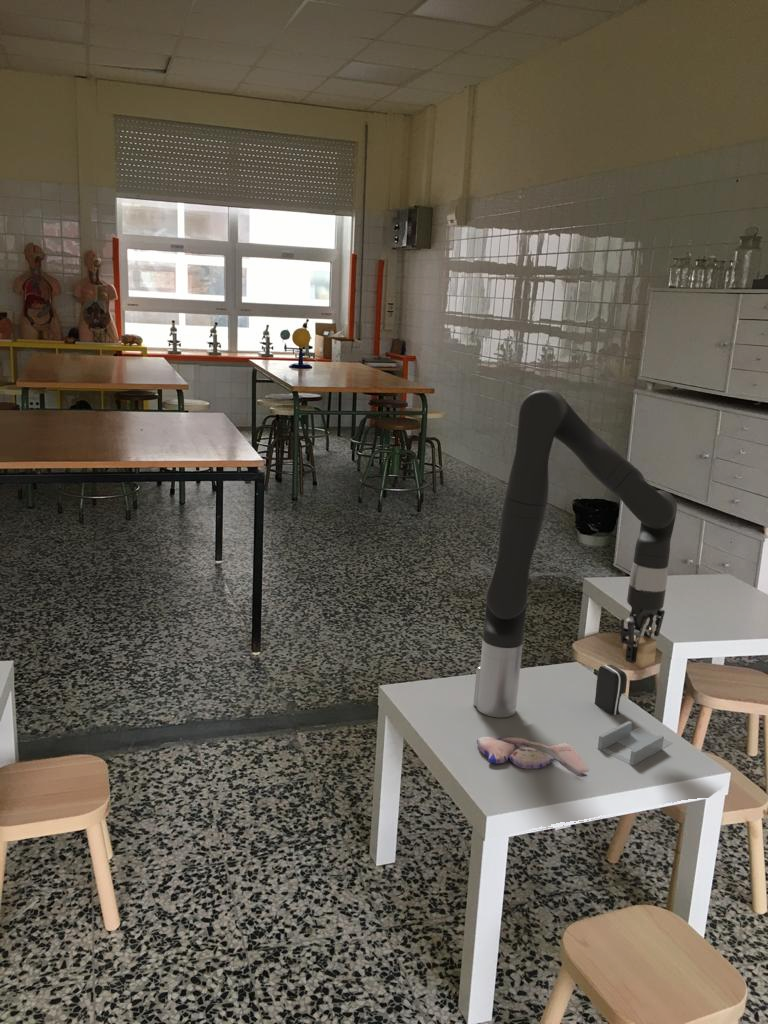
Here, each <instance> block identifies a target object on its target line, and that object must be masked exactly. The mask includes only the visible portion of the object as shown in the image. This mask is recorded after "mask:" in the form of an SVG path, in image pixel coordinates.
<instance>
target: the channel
mask: <svg viewBox="0 0 768 1024" xmlns="http://www.w3.org/2000/svg"><path fill="white" fill-rule="evenodd" d="M632 724H633V722H632V721H630V720H628V721H626V722H624V723H621V724H620V725H617V726H616V727H614V728H612V729H610V730H608V731H606V732H605V733H604V732H603V733H602V734H599V737H598V741H597V742H598V744H597V749H598V750H600V751H601V752H604V753H606V754H608V755H610V756H612V757H614V758H616V759H618V760H619V761H622V762H624V763H627V764H629V765H630V766H635V765H637V764H639V763H640V762H642V761H643V760H646V759H647V758H650V757H651V756H653V755H654V754H656V753H658V752H659V751H662V750H663V749H665V748H667V747H668V746H670V745H672V744H673V742H672V741H670V740H668V739H665V737H664V735H662V734H659V735H656V734H653V733H652V732H649V731H647V730H645V729H643V728H640V727H636V728H634V729H633V730H632V728H633V727H632V726H633V725H632ZM615 743H618V744H620V745H623V747H627V748H628V749H631V751H630V759H629V758H626V757H625V756H623V755H620V754H619V753H617V752H614V751H612V750H610V749H608V747H610V746H611V745H613V744H615Z"/></svg>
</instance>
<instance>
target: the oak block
mask: <svg viewBox="0 0 768 1024" xmlns="http://www.w3.org/2000/svg"><path fill="white" fill-rule="evenodd" d="M626 638H627V636H626ZM635 638H636V636H635V635H634V641H635ZM657 646H658V640H657V639H655V638H654V639H652V638H649V637H646V636H643V637H642V638H640V641H639V644H638V646H637V647H638V650H637V657H636V662H635V663H631V662H628V661H626V659H625V657H626V650H627V645H626V644H623V646H622V653H621V654H622V655H621V660H622V661H625V662H627V663H629V664H631V665H635V666H638V667H640V668H644V667H646V666H648V665H651V664H653V663H655V658H656V653H657Z"/></svg>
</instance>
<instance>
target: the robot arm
mask: <svg viewBox="0 0 768 1024" xmlns="http://www.w3.org/2000/svg"><path fill="white" fill-rule="evenodd" d="M516 437H517V438H516V446H515V447H516V448H515V454H514V458H513V461H512V466H511V469H510V473H509V477H508V481H507V487H506V490H505V494H504V500H503V505H502V510H501V511H502V512H501V518H500V527H499V538H498V539H499V540H498V541H499V542H498V553H497V554H498V555H497V560H496V563H495V567H494V571H493V574H492V576H491V578H490V580H489V582H488V584H487V589H486V593H485V594H486V595H485V599H486V600H485V601H486V604H485V613H484V614H485V615H484V623H483V629H482V630H483V631H482V641H481V643H482V644H481V653H480V666H478V667H476V672H475V682H474V692H473V706H475V707H476V709H477V710H478V712H480V713H481V714H484V715H486V716H488V717H493V718H500V719H501V718H509V717H512V716H514V715H515V714H516V712H517V703H518V694H519V684H520V682H519V681H520V673H521V665H522V652H523V643H524V634H525V627H526V615H527V614H526V613H527V606H528V605H527V604H528V594H529V587H528V583H529V577H530V576H529V575H530V568H531V563H532V559H533V556H534V552H535V550H536V547H537V543H538V541H539V537H540V534H541V530H542V527H543V524H544V519H545V514H546V511H547V504H548V501H549V500H548V497H549V488H550V487H549V484H550V483H549V482H550V481H549V459H550V453H551V449H552V445H553V441H554V438H555V439H557V440H559V442H561V443H562V444H564V446H566V447H567V448H568V449H570V451H571V452H572V453H573V454H575V456H576V457H577V458H578V459H579V461H580V462H581V463H582V464H583V466H585V468H586V470H588V471H589V472H590V474H591V475H592V476H593V477H595V479H596V480H597V481H598V482H600V483H601V484H602V485H604V486H605V488H606V489H608V490H609V491H610V493H611V492H612V494H613V495H615V496H617V497H618V498H619V499H620V500H621V502H622V503H623V504H624V505H625V506H626V508H627V509H628V510H629V511H630V513H632V514H633V515H634V517H636V518H637V520H639V521H640V530H639V535H638V537H637V540H636V542H635V548H634V555H633V562H632V566H631V570H630V575H629V583H628V591H627V596H626V597H627V598H626V603H627V604H628V605H629V606H630V608H631V610H630V613H629V617H628V618H624V617H622V618H621V620H620V643H621V644H623V645H624V644H626V645H627V650H626V657H625V659H626V661H625V662H627V661H628V662H627V663H629V662H631V663H630V664H632V663H635V662H636V657H637V650H638V647H637V646H638V644H639V641H640V638H642V637H643V636H646V637H649V638H652V639H654V640H655V638H656V637H659V634H660V633H661V632H660V631H661V627H662V623H663V620H664V616H665V610H664V609H663V607H664V603H665V597H666V591H667V590H666V589H667V583H668V566H669V561H670V555H671V553H670V552H671V539H672V535H673V531H674V527H675V523H676V517H677V511H678V504H677V501H676V499H675V497H674V496H673V495H672V494H671V493H670V492H668V491H665V490H656V488H654V487H653V486H652V485H651V484H649V482H647V481H646V480H645V477H644V475H643V473H642V472H641V471H640V470H639V469H638V468H637V467H635V465H633V464H632V463H631V462H630V461H629V460H628V459H626V458H625V457H624V456H623V455H622V454H620V453H619V452H618V451H617V450H616V449H614V448H613V447H612V446H611V445H609V444H608V443H607V442H606V441H604V440H603V439H602V437H600V436H599V435H598V434H597V433H595V431H593V429H591V428H590V427H589V426H588V424H586V423H585V421H584V420H583V419H582V418H581V417H580V416H579V415H578V414H577V412H576V411H575V410H574V409H573V408H572V407H571V405H570V403H568V402H567V401H566V399H565V397H563V395H561V393H560V392H557V391H555V390H553V389H541V390H536V391H533V392H531V393H529V394H528V395H526V397H525V398H524V399H523V400H522V403H521V405H520V408H519V412H518V425H517V435H516ZM635 630H636V631H635ZM637 631H638V632H637ZM634 635H635V636H636V638H635V641H634ZM626 637H627V638H626Z"/></svg>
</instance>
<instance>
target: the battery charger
mask: <svg viewBox="0 0 768 1024" xmlns="http://www.w3.org/2000/svg"><path fill="white" fill-rule="evenodd" d="M627 681H628V677H627V674H626V672H624V670H622V669H620V668H618V667H617V666H616V665H615V666H614V665H613V664H607V665H606V664H603V665H601V666H599V667H598V671H597V677H596V686H595V687H596V688H595V697H594V705H595V706H597V707H598V708H600V709H601V710H603V711H605V712H606V713H608V714H609V715H611V716H615V715H619V714H620V713H621V712H620V709H619V707H620V701H621V697H622V695H623V694H624V695H625V694H626V693H627V691H626V690H627V685H628V683H627Z"/></svg>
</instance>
